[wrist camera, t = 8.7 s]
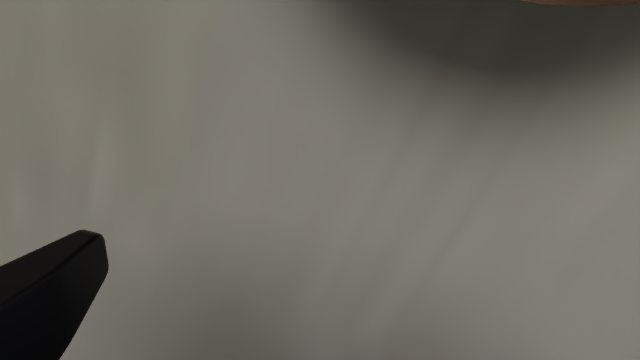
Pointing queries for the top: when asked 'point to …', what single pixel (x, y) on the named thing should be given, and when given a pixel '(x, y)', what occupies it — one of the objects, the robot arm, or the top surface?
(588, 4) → the lid
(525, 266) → the top surface
